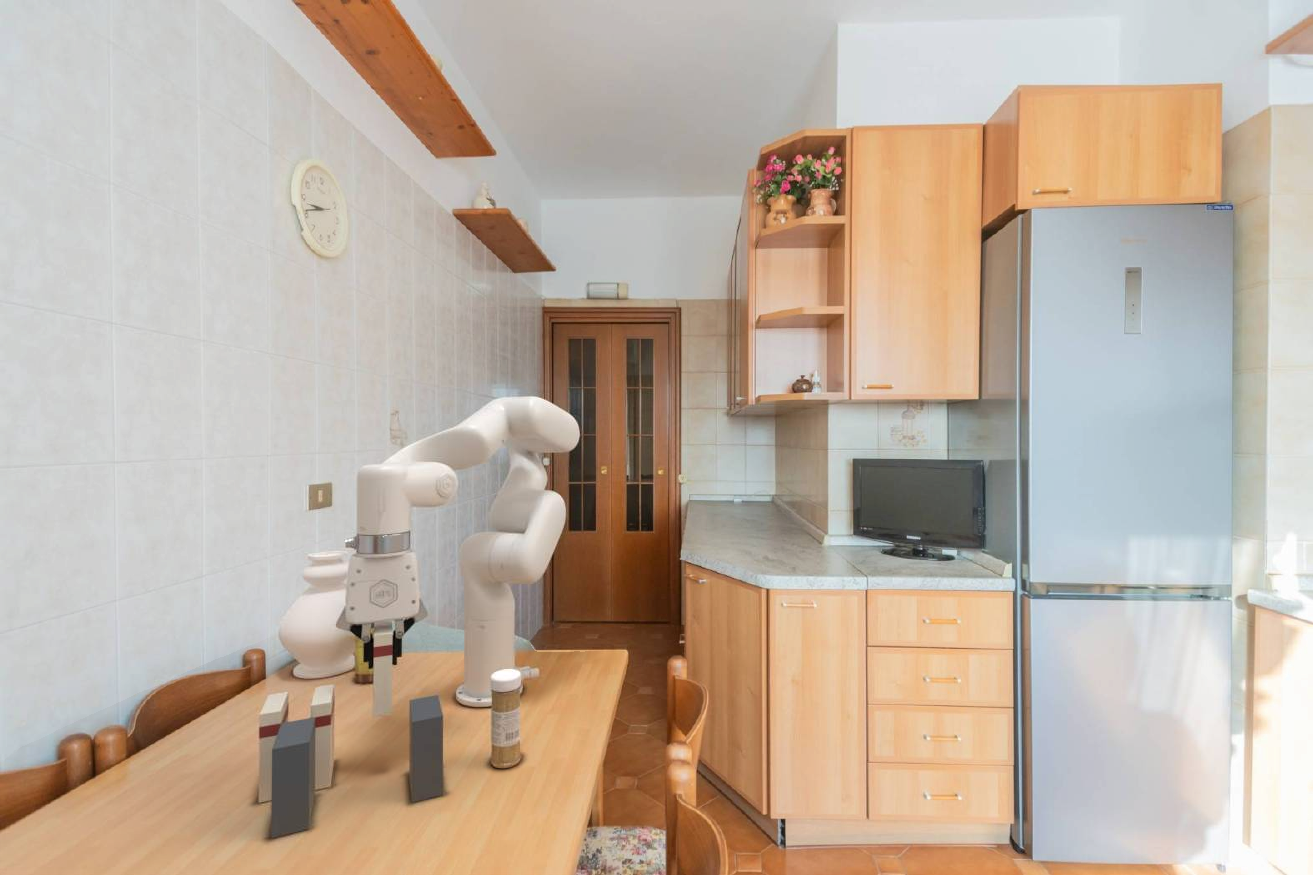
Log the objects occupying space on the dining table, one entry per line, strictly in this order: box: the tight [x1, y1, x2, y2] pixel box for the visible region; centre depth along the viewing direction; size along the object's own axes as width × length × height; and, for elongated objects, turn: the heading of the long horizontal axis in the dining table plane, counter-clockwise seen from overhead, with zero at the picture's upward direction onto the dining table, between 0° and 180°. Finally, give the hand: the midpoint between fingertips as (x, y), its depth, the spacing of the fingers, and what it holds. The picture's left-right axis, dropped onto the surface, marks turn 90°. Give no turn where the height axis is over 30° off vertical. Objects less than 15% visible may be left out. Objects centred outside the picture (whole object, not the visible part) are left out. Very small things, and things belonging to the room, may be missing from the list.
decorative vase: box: [278, 550, 355, 680], centre depth 126 cm, size 18×18×25 cm
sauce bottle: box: [354, 621, 384, 684], centre depth 120 cm, size 7×6×20 cm
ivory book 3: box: [372, 620, 393, 718], centre depth 87 cm, size 2×7×12 cm, turn 26°
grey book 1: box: [270, 717, 316, 840], centre depth 75 cm, size 4×8×11 cm, turn 26°
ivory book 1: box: [258, 691, 289, 804], centre depth 81 cm, size 2×7×12 cm, turn 26°
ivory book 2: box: [310, 683, 336, 791], centre depth 84 cm, size 2×7×12 cm, turn 26°
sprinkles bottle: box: [490, 669, 522, 769], centre depth 87 cm, size 5×5×14 cm
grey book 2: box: [408, 694, 444, 804], centre depth 82 cm, size 4×8×11 cm, turn 26°
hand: (382, 662), depth 87 cm, fingers closed on ivory book 3, 2 cm apart
